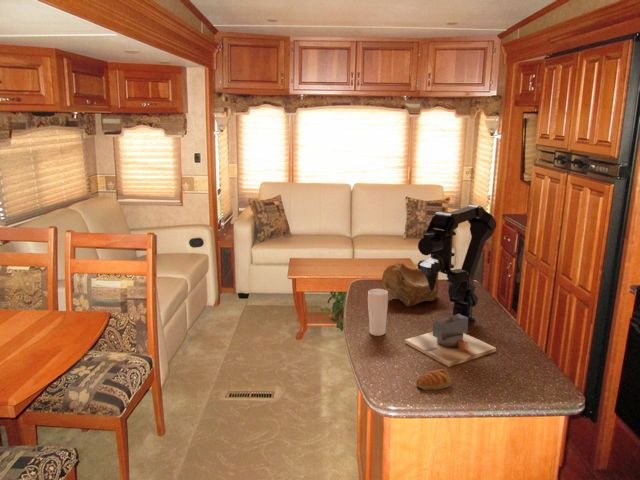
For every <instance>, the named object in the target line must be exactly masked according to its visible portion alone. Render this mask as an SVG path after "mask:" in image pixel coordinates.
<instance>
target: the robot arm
mask: <svg viewBox="0 0 640 480" xmlns="http://www.w3.org/2000/svg"><path fill="white" fill-rule="evenodd" d="M465 222H468V223H469V225H470V226H469V232H470V236H471V237H470V241H469V243H468V244H469V245H468V247H467V250H466V254H465V257H464V260H463V263H462V266H461V268H456V269H454V268H455V265H454V264H452V258H453V257H455V252H453V237H454V236H456V235H457V233H456V231H455V230H456V229H457V228H458V227H459V224H462V223H465ZM496 228H497V221H496V220H495V218H494V217H493V215H492V214H491V213H489V212H488V211H486V210H485V208H484V207H483V206H482V205H476V204H468V205H467V206H465V207H461V208H458V209H456V210H453V211H437V212H435V213H434V214H433V215H432V217H431V221H430V223H429V225H428V226H427V229H426V232H425V233H423V237H422V238H421V239H420V240H419V241H418V243H417V248H418V251H419V253H421V254H422V255H423V256H429V255H430V257H429V258H427V259H423V260H419V261H418V264H417V269H420V271H421V272H422V273H423V274H425V276H426V278H427V281H428V284H429V288H430V290H431V291H433V290H434V287H435V282H436V277H437V273H438V272H439V273H440V274H444V275H446V278H447V279H446V283H448V291H447V293H448V297H449V302H451V303H453V307H452V316H453V315H457V314H460V315H463V316H465V317H467V318H468V323H469V322H471V321H475V320H476V318H475V317H473V308H474V307H476V306H477V305H478V302H479V298H478V296H477V295H476V293H475V289H476V287H475V281H474V277H475V274H476V270H477V267H478V264H479V261H480V258H481V256H482V252H483V250H484V247H485V243H486V241H487V240H490V238H491V237H492V236H493V234H494V231H495V229H496Z"/></svg>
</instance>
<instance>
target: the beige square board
mask: <svg viewBox="0 0 640 480" xmlns="http://www.w3.org/2000/svg"><path fill="white" fill-rule="evenodd" d="M463 341H465V342H467V343H468V347H467V349H465V350H464V349H462V348H460V347H458V348H446V347H443V346H440V345H439V344H438V343H437V337H435V336H433V331H430V332H427V333H423V334H420V335H417V336H412V337H408V338H406V339H404V344H406V345H408V346H409V347H412V348H414V349H416V350H417V351H419V352H421V353H423V354H425V355H426V356H428V357H430V358H431V359H434V360H435V361H437V362H439V363H441V364H443V365H445V366H446V367H447V368H450V367H453V366H456V365H459V364H462V363H466V362H468V361H471V360H474V359H477V358H480V357H483V356H486V355H490V354H492V353H495V352H496V351H497V348H496V347H495V346H493V345H491V344H489V343H487V342H484V341H482V340H480V339H478V338H475V337H474V336H472V335H469V334H467V333H464V334H463Z"/></svg>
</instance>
